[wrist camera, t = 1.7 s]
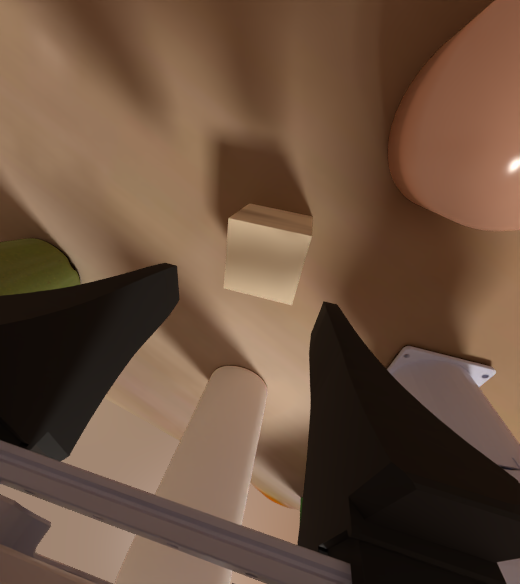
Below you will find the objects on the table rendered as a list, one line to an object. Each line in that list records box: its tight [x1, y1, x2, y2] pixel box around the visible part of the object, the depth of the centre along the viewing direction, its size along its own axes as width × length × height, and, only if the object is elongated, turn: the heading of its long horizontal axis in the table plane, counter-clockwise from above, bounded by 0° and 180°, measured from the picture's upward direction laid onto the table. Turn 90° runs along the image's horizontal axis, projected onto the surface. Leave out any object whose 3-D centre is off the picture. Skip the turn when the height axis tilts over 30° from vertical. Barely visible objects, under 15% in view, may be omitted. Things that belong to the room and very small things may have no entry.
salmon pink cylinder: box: [388, 0, 520, 231], centre depth 10 cm, size 9×9×5 cm
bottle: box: [115, 366, 267, 584], centre depth 17 cm, size 8×8×30 cm
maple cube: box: [224, 203, 313, 305], centre depth 16 cm, size 5×5×5 cm
